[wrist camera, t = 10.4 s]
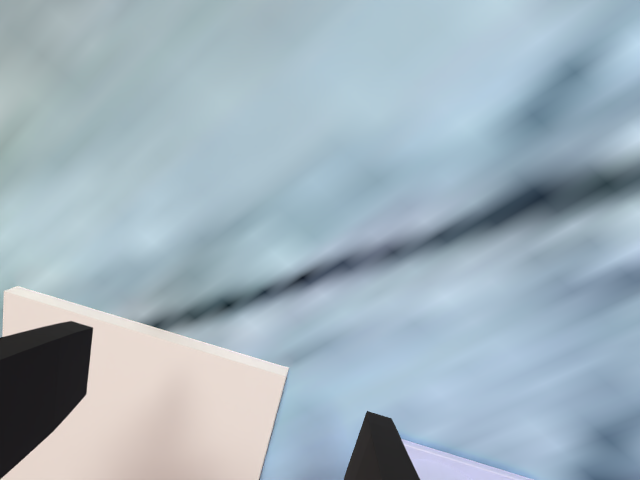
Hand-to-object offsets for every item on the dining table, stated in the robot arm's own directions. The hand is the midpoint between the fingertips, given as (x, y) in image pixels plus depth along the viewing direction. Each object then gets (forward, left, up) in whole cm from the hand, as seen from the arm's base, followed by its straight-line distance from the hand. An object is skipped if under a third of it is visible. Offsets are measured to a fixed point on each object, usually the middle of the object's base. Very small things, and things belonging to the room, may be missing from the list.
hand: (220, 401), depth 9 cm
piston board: (+7, +17, -9) cm, 21 cm away
